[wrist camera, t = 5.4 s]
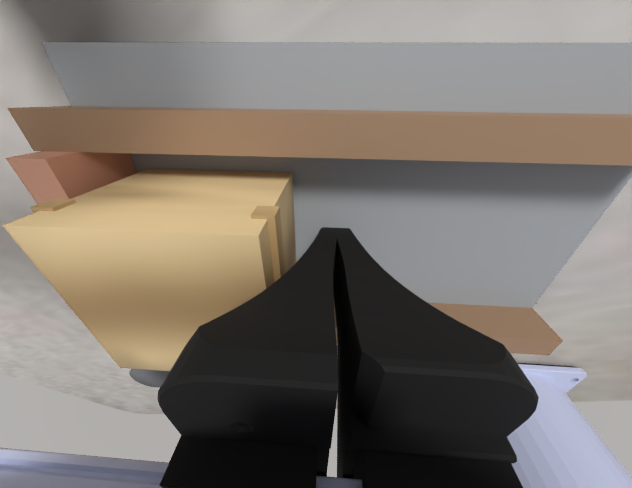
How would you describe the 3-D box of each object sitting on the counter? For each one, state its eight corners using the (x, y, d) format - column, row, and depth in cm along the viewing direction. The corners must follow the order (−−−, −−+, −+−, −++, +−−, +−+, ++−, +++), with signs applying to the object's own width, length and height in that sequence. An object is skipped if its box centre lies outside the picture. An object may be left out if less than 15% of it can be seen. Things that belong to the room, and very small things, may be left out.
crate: (301, 285, 12) (284, 380, 8) (187, 279, 13) (116, 368, 9) (297, 170, 9) (266, 231, 5) (143, 166, 9) (-9, 221, 5)
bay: (497, 327, 15) (561, 417, 11) (185, 310, 16) (132, 386, 12) (686, 49, 7) (1154, -15, 3) (70, 47, 8) (-196, -3, 4)
